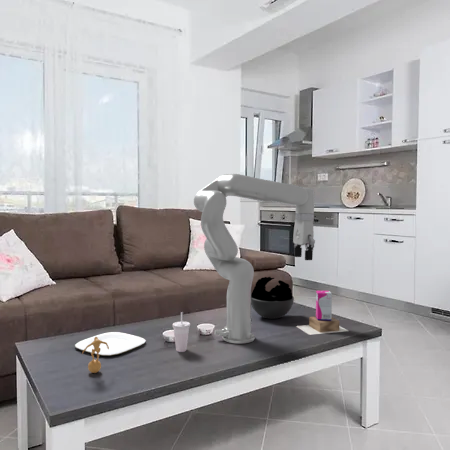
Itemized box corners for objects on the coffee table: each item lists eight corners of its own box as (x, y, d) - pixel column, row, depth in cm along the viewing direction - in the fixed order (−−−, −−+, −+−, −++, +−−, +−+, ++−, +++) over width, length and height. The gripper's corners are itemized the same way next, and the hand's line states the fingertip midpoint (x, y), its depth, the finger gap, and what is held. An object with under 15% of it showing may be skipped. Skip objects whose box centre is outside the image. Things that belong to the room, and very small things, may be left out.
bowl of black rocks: (247, 312, 211) (247, 273, 209) (288, 312, 212) (289, 273, 211) (252, 324, 191) (252, 282, 189) (297, 324, 192) (298, 281, 191)
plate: (109, 362, 149) (109, 357, 148) (67, 349, 160) (67, 344, 160) (152, 343, 167) (152, 339, 167) (112, 333, 178) (112, 329, 178)
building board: (309, 336, 175) (309, 334, 175) (295, 327, 187) (295, 326, 187) (348, 332, 181) (348, 330, 181) (333, 324, 192) (333, 322, 192)
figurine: (105, 367, 143) (105, 331, 142) (111, 374, 138) (111, 336, 137) (79, 373, 138) (79, 335, 137) (84, 379, 133) (84, 341, 132)
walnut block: (319, 332, 178) (320, 322, 178) (309, 326, 187) (309, 316, 187) (339, 330, 181) (339, 321, 181) (327, 324, 190) (328, 315, 189)
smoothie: (173, 353, 155) (173, 314, 154) (171, 347, 161) (171, 310, 161) (191, 352, 157) (191, 313, 156) (188, 346, 163) (188, 309, 162)
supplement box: (329, 317, 187) (329, 290, 186) (331, 320, 181) (332, 293, 180) (315, 316, 187) (316, 289, 186) (317, 320, 181) (317, 293, 180)
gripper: (287, 216, 191) (286, 255, 192) (305, 218, 174) (304, 261, 175) (303, 216, 193) (301, 255, 194) (322, 218, 176) (321, 261, 177)
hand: (303, 258), depth 185 cm, fingers open, 9 cm apart
